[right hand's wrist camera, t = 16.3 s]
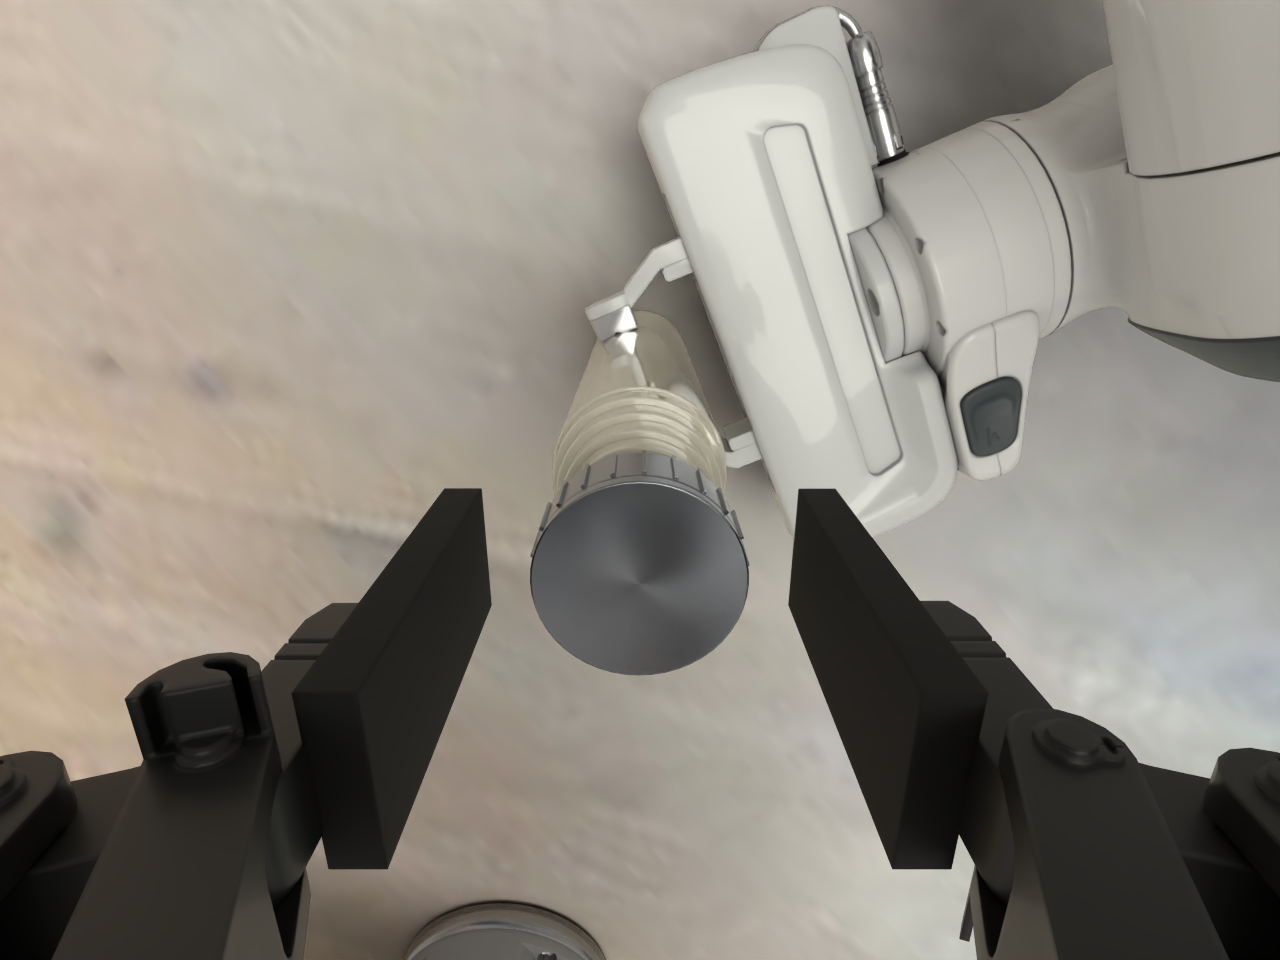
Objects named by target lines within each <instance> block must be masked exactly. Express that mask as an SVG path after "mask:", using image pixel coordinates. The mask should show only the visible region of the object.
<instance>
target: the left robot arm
mask: <svg viewBox="0 0 1280 960" xmlns="http://www.w3.org/2000/svg"><path fill="white" fill-rule="evenodd" d="M1103 5H1104V12H1105V18H1106V25H1107V31H1108V38H1109V44H1110V50H1111V57H1112V63H1113V64H1112V65H1109V66H1107V67H1105V68H1102V69H1100V70H1098V71H1096V72H1094V73H1092V74H1090V75H1088V76H1086V77H1084V78H1083V79H1081V80H1080V81H1078V82H1077V83H1075V84H1074V85H1072V86H1071V87H1070V88H1069V89H1068V90H1066V91H1065V92H1064V93H1063V94H1061V95H1060V96H1059V97H1057V98H1056V99H1054V100H1053V101H1051V102H1050V103H1048V104H1046V105H1044V106H1042V107H1039V108H1037V109H1034V110H1031V111H1028V112H1023V113H1017V114H1008V115H1001V116H995V117H992V118H989V119H986V120H983V121H981V122H978V123H976V124H974V125H972V126H969V127H967V128H965V129H962V130H960V131H958V132H955V133H953V134H951V135H948V136H946V137H944V138H941V139H939V140H937V141H935V142H932V143H930V144H928V145H925V146H923V147H921V148H919V149H916V150H914V151H911V152H909V153H908V152H906V151H905V148H904V143H903V139H902V135H901V133H900V129H899V125H898V121H897V117H896V114H895V111H894V108H893V105H892V104H891V100H890V97H888V92H887V90H885V88H886V85H885V82H883V81H884V78H883V74H882V71H881V68H882V67H883V65H882V59H881V54H880V50H879V47H878V45H877V42H876V40H875V38H874V36H873V34H872V32H871V31H868V32H865V33H863V32H862V30H861V28H860V26H859V25H858V23H857V22H856V20H855V19H854V18H853V17H852V16H851V15H850V14H848V13H846V12H845V11H843V10H841V9H839V8H836V7H833V6H818V7H814V8H810V9H808V10H806V11H804V12H802V13H800V14H798V15H795V16H793V17H791V18H789V19H787V20H785V21H783V22H781V23H778V24H776V25H775V26H774V27H772V28H771V29H769V30H768V31H767V32H766V33H765V34H764V35H763V37H762V38H761V39H760V41H759V42H758V44H757V46H756V48H755V50H754V52H752V53H748V54H744V55H741V56H737V57H734V58H730V59H727V60H724V61H721V62H718V63H714V64H711V65H708V66H705V67H703V68H700V69H697V70H694V71H692V72H689V73H686V74H684V75H681V76H679V77H676V78H674V79H671V80H669V81H667V82H665V83H663V84H661V85H659V86H657V87H655V88H654V89H653V90H652V91H651V92H650V93H649V95H648V97H647V98H646V100H645V103H644V105H643V107H642V109H641V112H640V115H639V118H638V130H639V134H640V137H641V140H642V142H643V145H644V148H645V151H646V153H647V156H648V159H649V161H650V164H651V167H652V169H653V172H654V175H655V177H656V180H657V183H658V185H659V188H660V191H661V193H662V196H663V199H664V201H665V204H666V207H667V209H668V212H669V215H670V217H671V220H672V223H673V225H674V228H675V231H676V234H677V236H678V237H677V238H674V239H672V240H670V241H668V242H666V243H663V244H661V245H659V246H657V247H654V248H652V249H651V250H650V252H649V253H648V255H647V256H646V257H645V259H644V260H643V261H642V263H641V264H640V265H639V267H638V268H637V270H636V271H635V272H634V274H633V275H632V276H631V278H630V279H629V280H628V282H627V283H626V285H625V286H624V289H623V291H620V292H618V293H616V294H613V295H611V296H609V297H606V298H604V299H602V300H599V301H597V302H595V303H593V304H591V305H589V306H587V307H586V308H585V313H586V315H587V317H588V320H589V322H590V324H591V326H592V329H593V331H594V333H595V335H596V337H597V340H598V342H603V341H606V340H608V339H610V338H611V337H613V336H614V335H615V333H616V332H619V333H623V332H627V331H629V330H632V329H634V328H636V327H637V319H636V317H635V314H634V311H633V309H632V306H633V305H634V304H635V302H636V301H637V300H638V298H639V297H640V296H641V294H642V293H643V292H644V290H645V289H646V288H647V286H648V285H649V284H650V282H651V281H652V280H653V278H654V277H655V276H656V274H657V273H658V272H659V270H660V269H661V271H662V274H663V276H664V278H665V280H666V281H668V282H670V281H673V280H675V279H678V278H680V277H683V276H685V275H687V274H690V273H691V274H692V276H693V279H694V282H695V284H696V287H697V290H698V292H699V295H700V298H701V300H702V303H703V306H704V308H705V311H706V314H707V316H708V319H709V322H710V325H711V327H712V330H713V333H714V335H715V338H716V341H717V343H718V346H719V349H720V351H721V354H722V357H723V359H724V362H725V365H726V367H727V370H728V373H729V375H730V378H731V381H732V383H733V386H734V389H735V391H736V394H737V397H738V399H739V402H740V405H741V407H742V410H743V413H744V416H745V418H743V419H741V420H738V421H736V422H733V423H731V424H729V425H726V426H724V428H723V431H724V434H725V436H726V439H723V438H721V440H722V443H723V447H724V451H725V455H726V464H727V467H732V468H740V467H742V466H745V465H747V464H750V463H753V462H755V461H758V460H761V461H762V464H763V466H764V469H765V472H766V474H767V477H768V480H769V482H770V485H771V488H772V490H773V493H774V496H775V498H776V501H777V504H778V506H779V509H780V512H781V514H782V517H783V520H784V522H785V524H786V527H787V529H788V531H789V534H790V535H791V537H792V539H793V541H794V535H795V523H796V511H797V500H798V489H836V490H837V491H838V493H839V494H840V495H841V497H842V498H843V499H844V501H845V502H846V503H847V505H848V506H849V507H850V509H851V510H852V511H853V513H854V514H855V515H856V517H857V518H858V519H859V521H860V522H861V523H862V525H863V526H864V527H865V529H866V530H867V531H868V533H869V534H870V535H871V537H872V538H873V537H876V536H878V535H881V534H883V533H885V532H887V531H889V530H892V529H894V528H896V527H898V526H900V525H903V524H905V523H907V522H909V521H911V520H913V519H915V518H917V517H919V516H921V515H923V514H924V513H926V512H928V511H929V510H931V509H932V508H934V507H935V506H936V505H938V504H939V503H940V502H941V501H942V500H943V499H944V498H945V497H946V496H947V495H948V493H949V492H950V491H951V489H952V487H953V485H954V483H955V480H956V476H957V470H959V471H960V472H962V473H963V474H965V475H967V476H969V477H971V478H973V479H975V480H987V479H991V478H995V477H998V476H1000V475H1003V474H1005V473H1007V472H1009V471H1010V470H1012V469H1013V468H1014V467H1015V466H1016V464H1017V463H1018V461H1019V458H1020V454H1021V449H1022V441H1023V432H1024V423H1025V414H1026V406H1027V399H1028V392H1029V385H1030V379H1031V374H1032V368H1033V363H1034V359H1035V354H1036V350H1037V345H1038V341H1039V339H1040V338H1042V337H1045V336H1048V335H1050V334H1051V333H1053V332H1055V331H1056V330H1058V329H1059V328H1061V327H1062V326H1064V325H1065V324H1067V323H1068V322H1070V321H1072V320H1073V319H1075V318H1077V317H1078V316H1080V315H1082V314H1085V313H1087V312H1089V311H1092V310H1096V309H1100V308H1111V307H1117V308H1120V309H1122V310H1123V311H1125V312H1126V313H1127V314H1128V316H1129V318H1128V321H1129V323H1131V324H1132V325H1134V326H1135V327H1137V328H1138V329H1140V330H1142V331H1143V332H1145V333H1147V334H1149V335H1151V336H1153V337H1155V338H1157V339H1159V340H1161V341H1163V342H1165V343H1167V344H1169V345H1171V346H1173V347H1176V348H1178V349H1180V350H1183V351H1185V352H1187V353H1189V354H1191V355H1193V356H1195V357H1197V358H1199V359H1201V360H1204V361H1206V362H1208V363H1210V364H1212V365H1214V366H1216V367H1218V368H1221V369H1223V370H1225V371H1228V372H1231V373H1234V374H1237V375H1241V376H1245V377H1250V378H1256V379H1262V380H1268V381H1276V382H1280V0H1103ZM841 25H842V26H843V27H844V28H845V29H846V30H847V31H848V33H849V34H850V36H851V38H852V39H851V40H849V41H848V42H847V43H846V41H845V37H844V34H843V30H842V26H841ZM878 162H880V163H879V164H878ZM876 164H878V167H875V168H872V167H871V166H873V165H876Z"/></svg>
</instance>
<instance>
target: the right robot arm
mask: <svg viewBox="0 0 1280 960" xmlns="http://www.w3.org/2000/svg"><path fill="white" fill-rule="evenodd" d="M490 608H491V593H490V581H489V570H488V558H487V546H486V535H485V523H484V511H483V500H482V489H444V490H443V491H442V493H441V494H440V495H439V497H438V498H437V499H436V501H435V502H434V503H433V505H432V506H431V507H430V509H429V510H428V511H427V513H426V514H425V515H424V517H423V518H422V519H421V521H420V522H419V523H418V525H417V526H416V527H415V529H414V530H413V531H412V533H411V534H410V535H409V537H408V538H407V539H406V541H405V542H404V543H403V545H402V546H401V547H400V549H399V550H398V551H397V553H396V554H395V555H394V557H393V558H392V559H391V561H390V562H389V563H388V565H387V566H386V567H385V569H384V570H383V571H382V573H381V574H380V575H379V577H378V578H377V579H376V581H375V582H374V583H373V585H372V586H371V587H370V589H369V590H368V591H367V593H366V594H365V595H364V597H363V598H362V599H361V601H360V602H359V603H332V604H330V605H328V606H327V607H325V608H324V609H322V610H320V611H319V612H317V613H316V614H314V615H313V616H311V617H309V618H308V619H306V620H305V621H304V622H303V623H302V625H301V626H300V627H299V628H298V629H297V630H296V632H295V633H294V634H293V635H292V636H291V637H290V639H289V643H285V644H284V646H283V647H282V648H281V649H280V650H279V651H278V653H277V654H276V655H275V659H274V660H271V661H270V662H269V663H268V664H267V666H266V667H265V668H264V669H263V670H262V671H261V669H260V665H259V663H258V662H257V661H255V660H254V659H253V658H252V657H250V656H249V655H244V654H238V653H233V652H227V653H214V654H206V655H202V656H198V657H194V658H190V659H186V660H182V661H180V662H178V663H175V664H173V665H171V666H168V667H166V668H164V669H161V670H159V671H157V672H156V673H154V674H153V675H151V676H150V677H148V678H147V679H145V680H144V681H142V682H140V683H139V684H138V685H137V686H136V687H135V688H134V689H133V690H132V691H131V692H130V694H129V695H128V696H127V697H126V698H125V701H126V705H127V708H128V711H129V714H130V717H131V721H132V724H133V727H134V730H135V733H136V736H137V740H138V743H139V746H140V749H141V752H142V756H143V759H144V760H143V762H142V764H141V766H139V767H135V768H132V769H127V770H123V771H118V772H114V773H109V774H104V775H100V776H95V777H90V778H86V779H81V780H76V781H72V782H70V779H69V776H68V773H67V771H66V768H65V765H64V762H63V760H61V759H60V758H59V757H57V756H56V755H54V754H53V753H51V752H39V751H27V752H22V753H16V754H10V755H4V756H1V757H0V960H303V955H304V947H305V939H306V930H307V922H308V913H309V905H310V896H311V895H310V888H309V881H308V876H307V872H306V865H307V863H308V861H309V860H310V858H311V856H312V854H313V852H314V850H315V848H316V846H317V844H318V842H319V840H320V839H321V837H322V840H323V845H324V850H325V854H326V859H327V864H328V868H329V869H388V867H389V864H390V862H391V859H392V857H393V854H394V852H395V849H396V847H397V844H398V841H399V839H400V836H401V834H402V831H403V829H404V826H405V824H406V821H407V819H408V816H409V814H410V811H411V808H412V806H413V803H414V801H415V798H416V796H417V793H418V791H419V788H420V786H421V783H422V780H423V778H424V775H425V773H426V770H427V768H428V765H429V763H430V760H431V758H432V755H433V753H434V750H435V747H436V745H437V742H438V740H439V737H440V735H441V732H442V730H443V727H444V725H445V722H446V720H447V717H448V714H449V712H450V709H451V707H452V704H453V702H454V699H455V697H456V694H457V692H458V689H459V686H460V684H461V681H462V679H463V676H464V674H465V671H466V669H467V666H468V664H469V661H470V659H471V656H472V653H473V651H474V648H475V646H476V643H477V641H478V638H479V636H480V633H481V631H482V628H483V625H484V623H485V620H486V618H487V615H488V613H489V610H490ZM789 608H790V610H791V613H792V615H793V618H794V620H795V623H796V625H797V628H798V631H799V633H800V636H801V638H802V641H803V643H804V646H805V648H806V651H807V653H808V656H809V659H810V661H811V664H812V666H813V669H814V671H815V674H816V676H817V679H818V681H819V684H820V686H821V689H822V692H823V694H824V697H825V699H826V702H827V704H828V707H829V709H830V712H831V714H832V717H833V720H834V722H835V725H836V727H837V730H838V732H839V735H840V737H841V740H842V742H843V745H844V747H845V750H846V753H847V755H848V758H849V760H850V763H851V765H852V768H853V770H854V773H855V775H856V778H857V780H858V783H859V786H860V788H861V791H862V793H863V796H864V798H865V801H866V803H867V806H868V808H869V811H870V814H871V816H872V819H873V821H874V824H875V826H876V829H877V831H878V834H879V836H880V839H881V841H882V844H883V847H884V849H885V852H886V854H887V857H888V859H889V862H890V864H891V867H892V869H951V868H952V864H953V859H954V854H955V850H956V845H957V840H958V835H960V837H961V839H962V841H963V843H964V845H965V846H966V848H967V850H968V852H969V854H970V856H971V858H972V860H973V862H974V864H975V867H974V872H973V876H972V881H971V885H970V889H969V894H968V898H967V903H966V907H965V911H964V916H963V920H962V925H961V932H960V939H961V940H965V941H968V942H969V940H970V936H971V932H972V928H974V937H975V945H976V954H977V960H1280V753H1277V752H1272V751H1266V750H1260V749H1254V748H1242V749H1230V750H1228V751H1227V752H1225V753H1224V754H1222V755H1221V756H1220V757H1218V760H1217V762H1216V765H1215V768H1214V771H1213V773H1212V776H1211V779H1209V778H1204V777H1200V776H1195V775H1190V774H1186V773H1181V772H1176V771H1172V770H1167V769H1162V768H1157V767H1153V766H1149V765H1145V764H1141V763H1138V761H1137V759H1136V757H1135V756H1134V755H1133V753H1132V752H1131V751H1130V749H1129V748H1128V747H1127V745H1126V744H1125V743H1124V742H1123V741H1121V740H1120V739H1119V738H1118V737H1116V736H1115V735H1114V734H1112V733H1111V732H1110V731H1108V730H1107V729H1106V728H1104V727H1102V726H1100V725H1098V724H1096V723H1094V722H1092V721H1090V720H1088V719H1086V718H1084V717H1081V716H1078V715H1074V714H1071V713H1067V712H1064V711H1060V710H1056V709H1053V708H1052V707H1051V706H1050V704H1049V703H1048V702H1047V701H1046V700H1045V699H1044V697H1043V696H1042V695H1041V694H1040V693H1039V692H1038V690H1037V689H1036V688H1035V687H1034V686H1033V685H1032V683H1031V682H1030V681H1029V680H1028V679H1027V678H1026V676H1025V675H1024V674H1023V673H1022V672H1021V671H1020V669H1019V668H1018V667H1017V666H1016V665H1015V664H1014V662H1013V661H1012V660H1011V659H1010V658H1006V653H1005V652H1004V651H1003V650H1002V648H1001V647H1000V646H999V645H998V644H997V643H996V642H995V641H992V637H991V636H990V635H989V633H988V632H987V631H986V630H985V629H984V628H983V626H982V625H981V624H980V623H979V622H978V621H977V619H976V618H975V617H973V616H972V615H970V614H968V613H967V612H965V611H963V610H962V609H960V608H959V607H957V606H955V605H954V604H952V603H951V602H949V601H919V599H918V598H917V597H916V595H915V594H914V593H913V591H912V590H911V589H910V587H909V586H908V585H907V583H906V582H905V581H904V579H903V578H902V577H901V575H900V574H899V573H898V571H897V570H896V569H895V567H894V566H893V565H892V563H891V562H890V561H889V559H888V558H887V557H886V555H885V554H884V553H883V551H882V550H881V549H880V547H879V546H878V545H877V543H876V542H875V541H874V539H873V538H872V537H871V535H870V534H869V533H868V531H867V530H866V529H865V527H864V526H863V525H862V523H861V522H860V521H859V519H858V518H857V517H856V515H855V514H854V513H853V511H852V510H851V509H850V507H849V506H848V505H847V503H846V502H845V501H844V499H843V498H842V497H841V495H840V494H839V493H838V491H837V490H836V489H798V500H797V511H796V523H795V535H794V546H793V558H792V570H791V581H790V593H789ZM405 960H605V958H604V956H603V954H602V952H601V950H600V949H599V947H598V946H597V945H596V943H595V942H594V941H593V940H592V939H591V938H590V936H588V935H587V934H586V933H585V932H584V931H583V930H582V929H580V928H579V927H577V926H576V925H575V924H573V923H571V922H570V921H568V920H566V919H564V918H562V917H560V916H558V915H556V914H553V913H551V912H548V911H545V910H542V909H538V908H534V907H530V906H524V905H518V904H505V903H494V904H482V905H475V906H470V907H465V908H462V909H458V910H455V911H453V912H450V913H448V914H445V915H443V916H441V917H439V918H438V919H436V920H434V921H433V922H431V923H430V924H429V925H427V926H426V927H425V928H424V929H423V930H421V931H420V932H419V934H418V935H417V936H416V937H415V938H414V940H413V941H412V943H411V944H410V946H409V949H408V951H407V954H406V957H405Z"/></svg>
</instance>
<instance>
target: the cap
mask: <svg viewBox="0 0 1280 960" xmlns="http://www.w3.org/2000/svg"><path fill="white" fill-rule="evenodd" d="M741 539H744V537H743V534H742V531H741V528H740V525H739V522H738V519H737V516H736V513H735V511H734V510H733V511H731V509H730V507H729V505H728V503H727V501H726V499H725V496H724V493H723V490H722V488H721V487H719V488H717V487H716V486H715V485H714V483H713V482H712V481H711V480H709V479H708V478H707V477H706V476H705V475H704V474H703V472H702V470H701V469H700V468H698V469H695V468H693V467H692V466H690V465H688V464H686V463H684V462H682V461H680V460H677V459H676V456H673V455H672V457H668V456H663V455H658V454H652V453H647V451H646V450H642V453H627V454H620V455H617V453H613V454H612V457H608V458H605V459H602V460H600V461H597V462H595V463H593V464H591V465H589V463H587V464H585V467H584V469H583V470H581V471H579V472H578V473H577V474H575V475H574V476H573V477H572V478H571V479H569V480H568V481H566V480H564V482H563V483H562V486H561V489H560V490H559V492H558V493H557V495H556V496H555V498H554V499H553V501H552V503H549V502H548V504H547V506H546V509H545V512H544V515H543V518H542V521H541V524H540V527H539V531H538V534H537V537H536V540H535V543H534V546H533V549H532V552H531V557H532V563H531V569H530V585H531V593H532V598H533V601H534V605H535V608H536V610H537V613H538V615H539V617H540V619H541V621H542V622H543V624H544V626H545V627H546V629H547V630H548V632H549V633H550V634H551V635H552V637H553V638H554V639H555V640H556V641H557V642H558V643H559V644H560V645H561V646H562V647H563V648H564V649H565V650H567V651H568V652H570V653H571V654H572V655H574V656H575V657H577V658H578V659H580V660H582V661H584V662H585V663H587V664H590V665H592V666H595V667H597V668H599V669H603V670H606V671H610V672H614V673H620V674H626V675H653V674H659V673H665V672H669V671H673V670H676V669H679V668H682V667H684V666H687V665H689V664H692V663H693V662H695V661H697V660H699V659H701V658H703V657H704V656H705V655H707V654H708V653H710V652H711V651H712V650H714V649H715V648H716V647H717V646H718V645H719V644H720V643H721V642H722V641H723V640H724V639H725V638H726V637H727V635H728V634H729V633H730V632H731V630H732V629H733V627H734V626H735V624H736V623H737V621H738V619H739V617H740V615H741V613H742V610H743V608H744V605H745V601H746V598H747V593H748V586H749V570H748V566H749V561H748V558H747V555H746V552H745V549H744V546H743V543H742V540H741Z"/></svg>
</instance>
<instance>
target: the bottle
mask: <svg viewBox="0 0 1280 960" xmlns="http://www.w3.org/2000/svg"><path fill="white" fill-rule="evenodd" d="M634 314H635V317H636V319H637V327H636V328H634V329H632V330H629V331H627V332H623V333H619V332H616V333H615V335H614V336H613V337H611V338H610V339H608V340H606V341H603V342H598V340H596V343H595V345H594V348H593V351H592V353H591V356H590V358H589V361H588V363H587V366H586V369H585V371H584V374H583V376H582V379H581V382H580V384H579V387H578V389H577V392H576V395H575V397H574V400H573V402H572V405H571V407H570V410H569V413H568V415H567V418H566V420H565V423H564V426H563V428H562V431H561V433H560V436H559V439H558V441H557V444H556V447H555V452H554V456H553V489H554V494H555V496H556V495H557V493H558V492H559V490H560V489H561V486H562V483H563V482H564V480H566V481H568V480H569V479H571V478H572V477H573V476H574V475H575V474H577V473H578V472H579V471H581V470H583V469H584V467H585V464H587V463H589V465H591V464H593V463H595V462H597V461H600V460H602V459H605V458H608V457H612V454H613V453H617V455H620V454H627V453H642V450H646V451H647V453H652V454H658V455H663V456H668V457H672V455H673V456H676V459H677V460H680V461H682V462H684V463H686V464H688V465H690V466H692V467H693V468H695V469H698V468H700V469H701V470H702V472H703V474H704V475H705V476H706V477H707V478H708V479H709V480H711V481H712V482H713V483H714V485H715V486H716V487H717V488H719V487H721V488H722V490H723V493H724V496H725V490H726V477H727V475H726V469H727V464H726V455H725V451H724V447H723V443H722V440H721V438H720V435H719V433H718V430H717V427H716V425H715V422H714V420H713V417H712V414H711V412H710V409H709V407H708V404H707V401H706V399H705V396H704V394H703V391H702V388H701V386H700V383H699V381H698V378H697V375H696V373H695V370H694V367H693V365H692V362H691V360H690V357H689V354H688V352H687V349H686V347H685V344H684V342H683V339H682V337H681V335H680V333H679V331H678V330H677V329H676V328H675V326H674V325H673V324H672V323H671V322H670V321H668V320H667V319H666V318H664V317H662V316H660V315H658V314H656V313H652V312H648V311H634Z"/></svg>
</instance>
